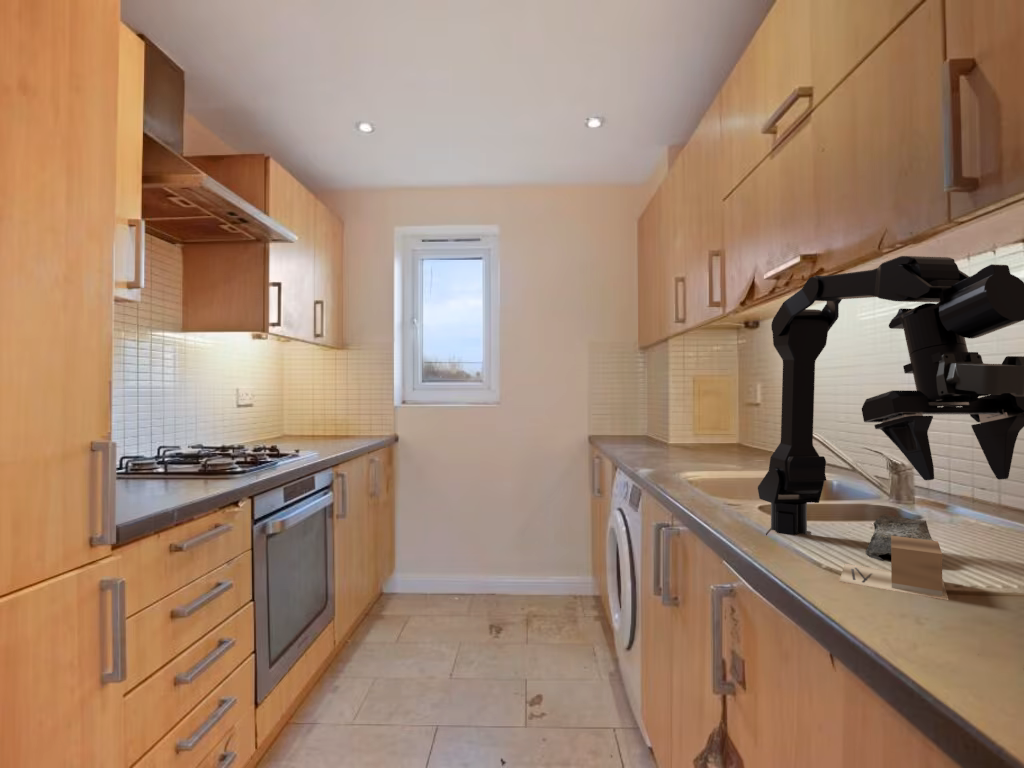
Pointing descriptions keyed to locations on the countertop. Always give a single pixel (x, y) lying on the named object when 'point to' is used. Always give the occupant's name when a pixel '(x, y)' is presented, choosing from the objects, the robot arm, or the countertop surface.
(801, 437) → the robot arm
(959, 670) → the countertop surface
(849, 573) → the birch board
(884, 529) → the rock
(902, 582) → the block
